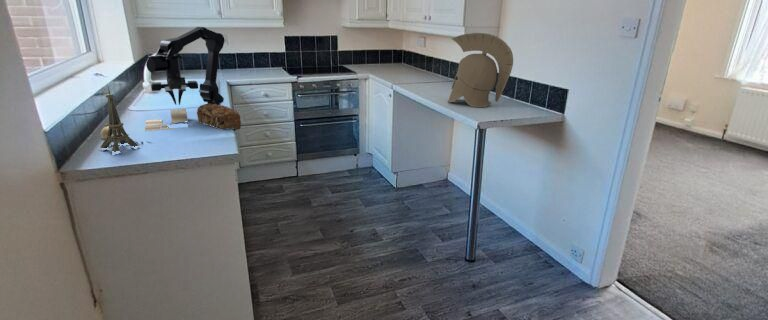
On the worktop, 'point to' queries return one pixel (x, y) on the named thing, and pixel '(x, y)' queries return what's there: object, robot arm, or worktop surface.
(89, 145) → the worktop surface
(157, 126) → the cardboard box
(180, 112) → the oak plank
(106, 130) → the onion
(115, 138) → the eiffel tower
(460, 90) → the helmet
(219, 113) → the bread
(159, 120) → the oak plank
